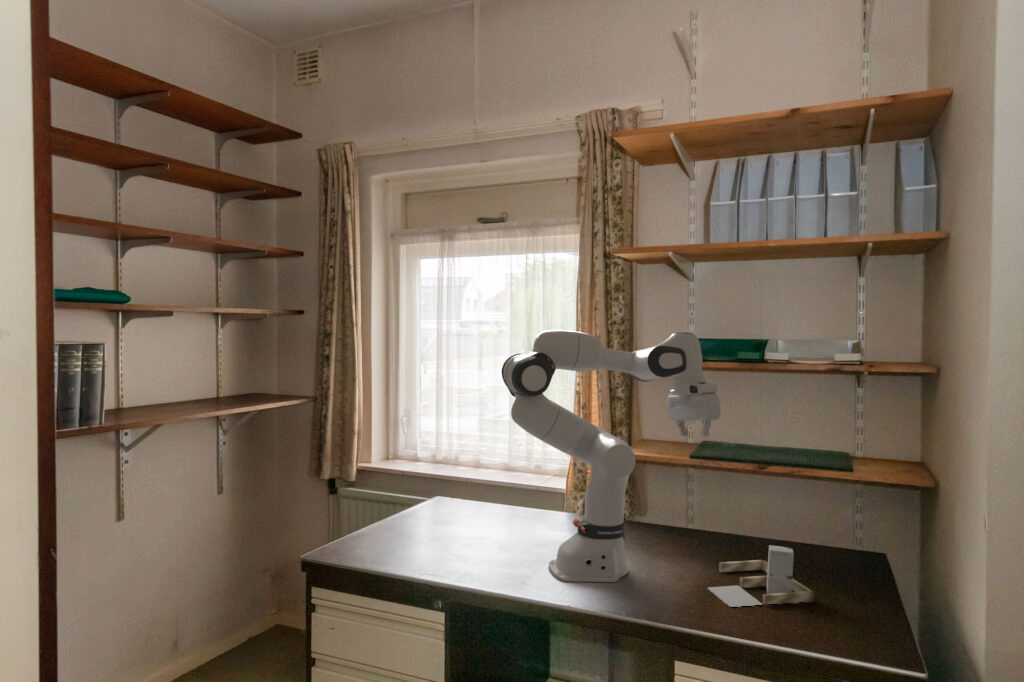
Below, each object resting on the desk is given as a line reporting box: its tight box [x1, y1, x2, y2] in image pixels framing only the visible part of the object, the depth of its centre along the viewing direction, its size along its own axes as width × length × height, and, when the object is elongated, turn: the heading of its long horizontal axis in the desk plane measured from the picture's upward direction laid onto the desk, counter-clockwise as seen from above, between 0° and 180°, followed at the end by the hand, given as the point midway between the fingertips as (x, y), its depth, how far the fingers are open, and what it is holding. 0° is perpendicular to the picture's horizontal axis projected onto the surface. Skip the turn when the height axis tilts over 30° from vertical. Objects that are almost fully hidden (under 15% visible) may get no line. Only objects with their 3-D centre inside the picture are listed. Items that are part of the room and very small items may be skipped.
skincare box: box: [765, 544, 795, 594], centre depth 176 cm, size 6×4×12 cm
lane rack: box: [718, 559, 815, 605], centre depth 182 cm, size 14×23×2 cm, turn 12°
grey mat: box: [706, 585, 764, 608], centre depth 174 cm, size 9×12×1 cm
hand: (694, 436), depth 191 cm, fingers open, 8 cm apart
